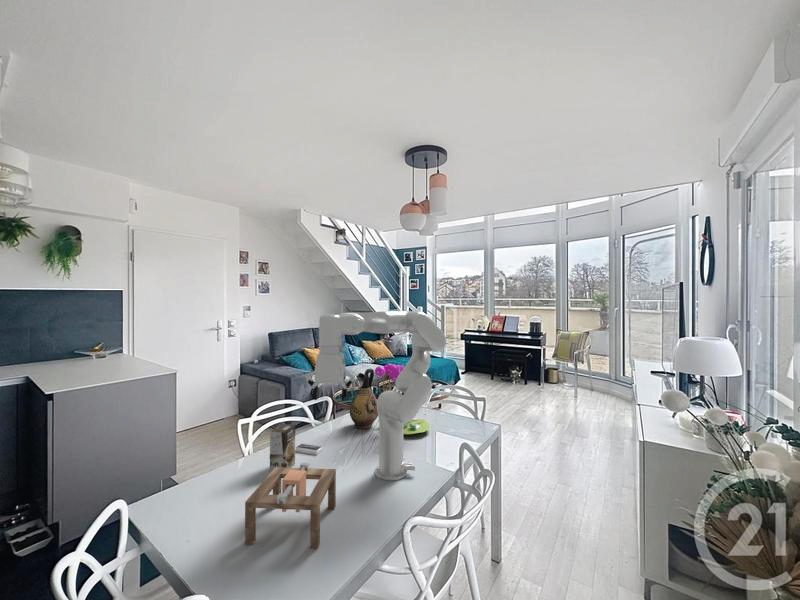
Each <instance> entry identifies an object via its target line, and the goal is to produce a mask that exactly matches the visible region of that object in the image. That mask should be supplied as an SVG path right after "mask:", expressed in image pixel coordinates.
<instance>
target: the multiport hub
mask: <svg viewBox="0 0 800 600" xmlns="http://www.w3.org/2000/svg"><path fill="white" fill-rule="evenodd" d="M296 452H297V453H302V454H308V455H315V456H318V455H319V454H321V453H322V452H323V446H319V445H314V444H306V443H299V445H297V446H295V453H296Z"/></svg>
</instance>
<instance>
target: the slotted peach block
mask: <svg viewBox="0 0 800 600" xmlns="http://www.w3.org/2000/svg"><path fill="white" fill-rule="evenodd" d="M289 484H292V485H295V496H307V479H306V471H302V470H290V471H289V472H288V473H287V475H286V476H285V477H284V478H282V479H281V493H284V491H285V490H286V489H287V487H288V486H289ZM289 495H293V496H294V488H293V489H292V491H291V492H290V494H289ZM287 511H288V509H281V513H286V512H287ZM300 512H301V510H295V513H300Z"/></svg>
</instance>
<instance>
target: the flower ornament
mask: <svg viewBox="0 0 800 600" xmlns="http://www.w3.org/2000/svg"><path fill="white" fill-rule="evenodd" d="M404 367H405V366H404V365H403V364H402V365H400V364H397V365H396V364H393V363H388V364H386V365H381V366H380V365H379V366H376V367H375V369H374V374H375V375H376V376H378V378H379V379H378V380H380V379H381V378H382V391H383V392H385V391H395V392H397V391H396V390H398V389H397V387H396V386H395V389H394V390H392V385H393V384H394V383H395V382H396V379H397V377H398V375H399V374H400V373H401V371H402V370H403V369H404ZM386 376H388V380H387V377H386ZM380 377H381V378H380ZM386 382H387V384H388V387H387V384H386ZM391 382H392V384H391ZM377 388H378V392H379V393H380V394H381V393H383V392H381V389H380V382H378V384H377ZM400 392H401V391H399V390H398V392H397V393H400ZM400 394H401V393H400ZM403 428H404V433H403V435H413V434H420V433H425V432H427V431H428V430H429V429H430V428H431V426H430V423H429V422H428V421H427V420H425V419H421V418H418V417H414V418H413V419H412V420H411V421H410V422H407V423H403Z"/></svg>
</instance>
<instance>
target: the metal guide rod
mask: <svg viewBox="0 0 800 600" xmlns="http://www.w3.org/2000/svg"><path fill="white" fill-rule="evenodd" d="M299 468H300V470H302V471H308V469H309V468H310V463H309V462H301V463H300V464H299ZM294 487H296V485H292V484H289V486H288V487H287V489H286V490H285V491H284V493H282V492H281V493H279V495H278V496H277V503H282V504H286V502H287V501H288V495H289V494H290V492H291V491H292V489H293V490H294Z"/></svg>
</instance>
